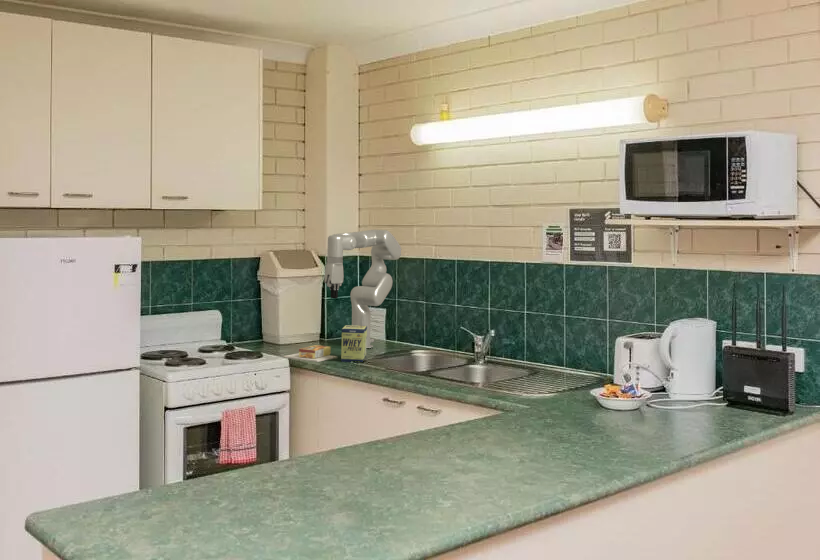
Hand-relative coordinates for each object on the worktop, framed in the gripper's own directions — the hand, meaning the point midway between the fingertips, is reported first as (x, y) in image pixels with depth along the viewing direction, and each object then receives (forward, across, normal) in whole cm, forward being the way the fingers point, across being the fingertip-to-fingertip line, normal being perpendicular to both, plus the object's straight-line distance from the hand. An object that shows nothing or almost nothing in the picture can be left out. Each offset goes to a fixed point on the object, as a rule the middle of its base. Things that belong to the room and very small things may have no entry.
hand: (334, 298), depth 442 cm
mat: (+27, +18, 0) cm, 33 cm away
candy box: (+24, +8, 0) cm, 26 cm away
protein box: (+27, +10, +19) cm, 35 cm away
